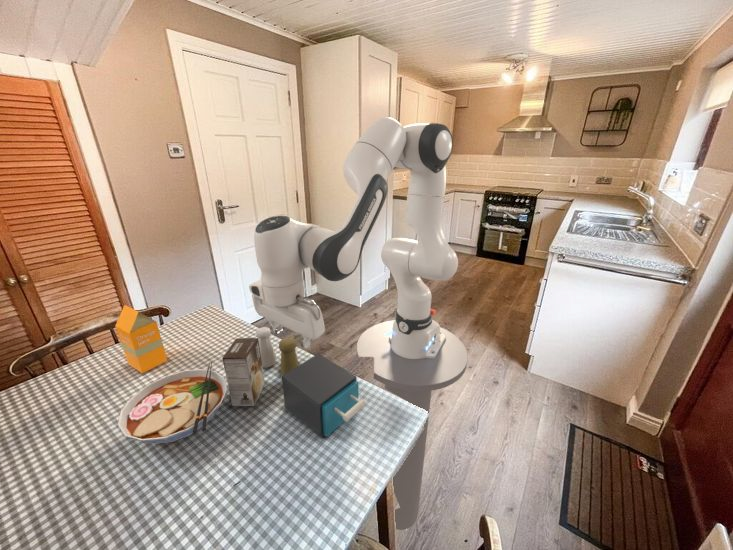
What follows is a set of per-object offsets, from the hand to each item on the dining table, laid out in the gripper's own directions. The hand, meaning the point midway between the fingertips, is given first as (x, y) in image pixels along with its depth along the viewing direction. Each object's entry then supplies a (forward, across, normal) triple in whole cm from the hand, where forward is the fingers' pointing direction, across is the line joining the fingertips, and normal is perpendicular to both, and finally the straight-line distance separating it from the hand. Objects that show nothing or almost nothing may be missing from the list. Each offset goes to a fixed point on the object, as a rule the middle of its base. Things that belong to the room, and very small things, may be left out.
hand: (291, 339), depth 74 cm
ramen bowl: (+20, +20, +22) cm, 36 cm away
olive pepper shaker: (+22, +13, -7) cm, 27 cm away
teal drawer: (+20, -10, -1) cm, 23 cm away
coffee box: (+21, +14, +7) cm, 26 cm away
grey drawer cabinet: (+21, -6, -1) cm, 22 cm away
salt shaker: (+22, +21, -5) cm, 31 cm away
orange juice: (+22, +53, +16) cm, 60 cm away
